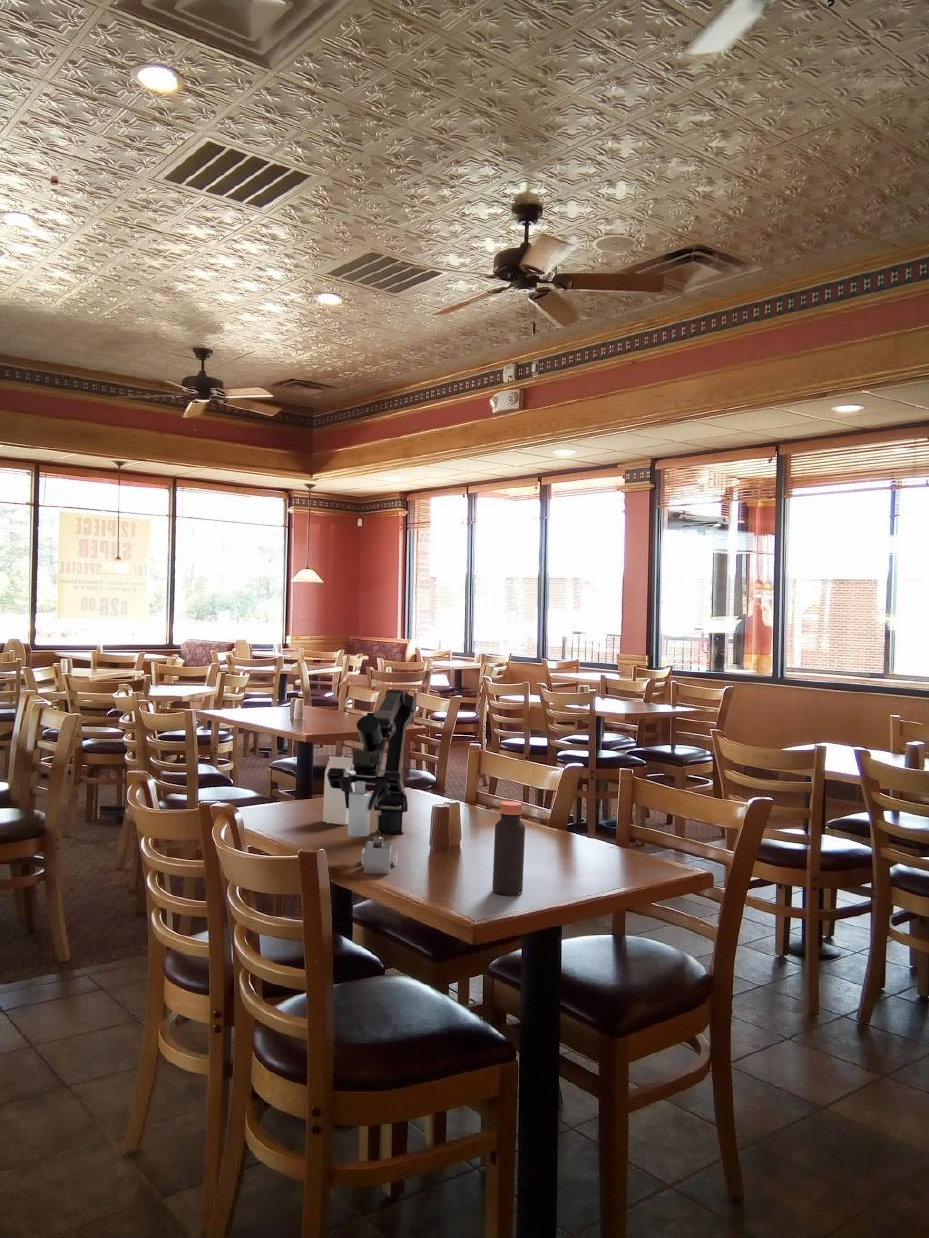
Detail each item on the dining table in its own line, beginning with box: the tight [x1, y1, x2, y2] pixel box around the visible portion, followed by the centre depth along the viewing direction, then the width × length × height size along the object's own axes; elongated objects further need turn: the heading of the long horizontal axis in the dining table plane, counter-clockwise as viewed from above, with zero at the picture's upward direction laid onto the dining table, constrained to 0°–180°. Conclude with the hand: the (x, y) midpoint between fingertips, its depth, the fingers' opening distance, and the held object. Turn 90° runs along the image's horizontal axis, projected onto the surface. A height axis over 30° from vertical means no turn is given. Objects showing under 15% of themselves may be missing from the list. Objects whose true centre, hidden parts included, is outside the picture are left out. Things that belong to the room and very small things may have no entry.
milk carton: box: [322, 755, 356, 826], centre depth 280 cm, size 7×7×19 cm
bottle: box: [491, 800, 526, 896], centre depth 215 cm, size 7×7×20 cm
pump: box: [347, 781, 372, 838], centre depth 236 cm, size 5×5×13 cm
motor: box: [360, 835, 399, 875], centre depth 231 cm, size 12×9×8 cm
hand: (358, 808), depth 235 cm, fingers closed on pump, 5 cm apart
